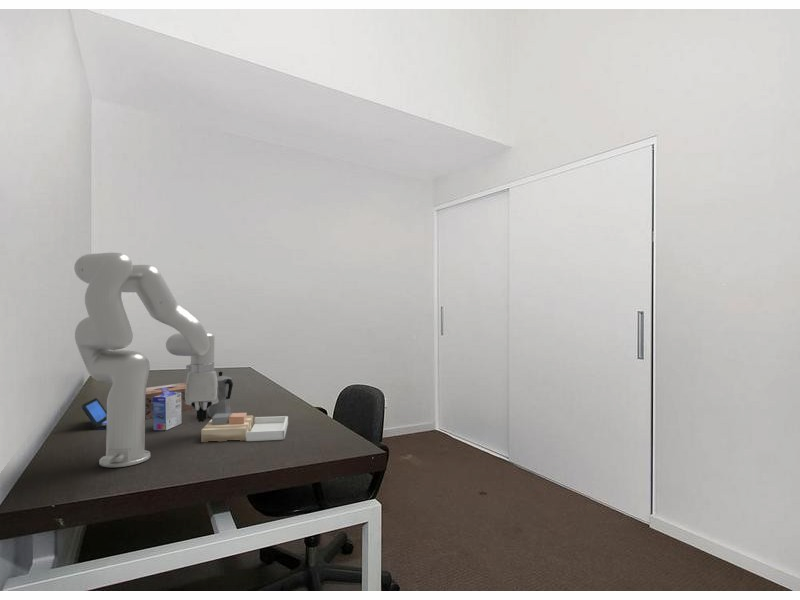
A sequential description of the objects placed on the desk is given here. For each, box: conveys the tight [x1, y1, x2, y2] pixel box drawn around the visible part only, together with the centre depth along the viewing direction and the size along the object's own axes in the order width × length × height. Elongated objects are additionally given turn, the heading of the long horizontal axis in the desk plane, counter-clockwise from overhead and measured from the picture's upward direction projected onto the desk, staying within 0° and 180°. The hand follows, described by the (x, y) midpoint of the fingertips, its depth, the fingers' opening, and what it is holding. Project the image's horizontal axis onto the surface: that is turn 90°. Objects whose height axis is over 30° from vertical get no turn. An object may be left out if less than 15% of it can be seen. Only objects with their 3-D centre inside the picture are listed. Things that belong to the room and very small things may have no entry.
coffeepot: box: [207, 371, 234, 419], centre depth 184 cm, size 15×9×18 cm, turn 51°
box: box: [245, 415, 289, 442], centre depth 160 cm, size 21×12×3 cm, turn 11°
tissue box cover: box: [145, 382, 204, 419], centre depth 191 cm, size 26×14×10 cm, turn 144°
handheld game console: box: [81, 398, 107, 430], centre depth 169 cm, size 16×13×9 cm
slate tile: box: [211, 412, 232, 425], centre depth 157 cm, size 6×5×2 cm
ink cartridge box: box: [152, 387, 182, 431], centre depth 166 cm, size 10×6×14 cm, turn 174°
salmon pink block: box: [229, 412, 248, 424], centre depth 158 cm, size 6×5×2 cm
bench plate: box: [200, 415, 254, 443], centre depth 157 cm, size 18×14×4 cm
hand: (201, 420), depth 156 cm, fingers closed
